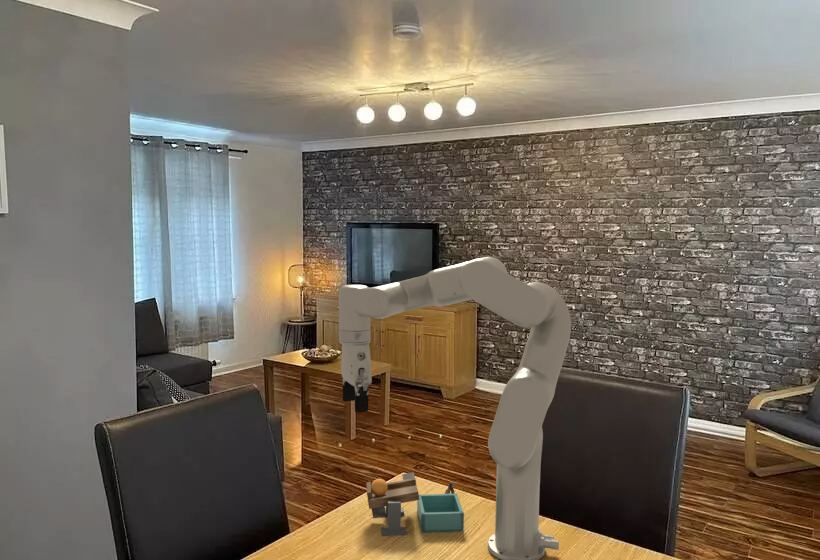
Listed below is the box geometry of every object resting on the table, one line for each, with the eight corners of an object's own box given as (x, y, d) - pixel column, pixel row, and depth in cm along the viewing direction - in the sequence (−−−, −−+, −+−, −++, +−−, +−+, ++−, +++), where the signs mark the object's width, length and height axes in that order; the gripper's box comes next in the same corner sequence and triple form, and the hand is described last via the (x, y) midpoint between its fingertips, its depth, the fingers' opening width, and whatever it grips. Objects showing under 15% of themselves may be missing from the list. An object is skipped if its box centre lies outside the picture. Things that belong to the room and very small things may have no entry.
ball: (390, 491, 152) (388, 476, 151) (385, 499, 148) (383, 483, 148) (374, 491, 153) (373, 475, 152) (369, 498, 149) (367, 482, 149)
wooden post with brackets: (458, 492, 167) (455, 480, 165) (446, 515, 161) (443, 502, 159) (452, 491, 168) (449, 478, 166) (440, 513, 162) (437, 501, 160)
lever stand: (403, 510, 158) (403, 481, 157) (407, 535, 145) (407, 503, 145) (379, 511, 157) (379, 482, 157) (381, 535, 145) (381, 504, 144)
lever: (416, 486, 161) (412, 462, 161) (421, 511, 147) (417, 485, 147) (370, 495, 161) (366, 471, 160) (371, 521, 147) (366, 494, 146)
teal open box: (456, 510, 158) (456, 493, 157) (463, 531, 147) (463, 513, 147) (417, 512, 157) (417, 494, 157) (421, 532, 147) (421, 514, 146)
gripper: (382, 341, 143) (382, 414, 145) (358, 329, 159) (358, 395, 161) (350, 343, 140) (351, 418, 142) (329, 331, 156) (330, 398, 158)
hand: (355, 406), depth 151 cm, fingers open, 9 cm apart
